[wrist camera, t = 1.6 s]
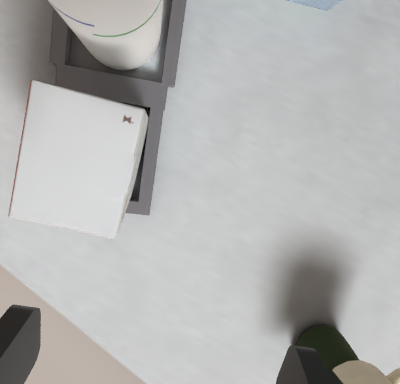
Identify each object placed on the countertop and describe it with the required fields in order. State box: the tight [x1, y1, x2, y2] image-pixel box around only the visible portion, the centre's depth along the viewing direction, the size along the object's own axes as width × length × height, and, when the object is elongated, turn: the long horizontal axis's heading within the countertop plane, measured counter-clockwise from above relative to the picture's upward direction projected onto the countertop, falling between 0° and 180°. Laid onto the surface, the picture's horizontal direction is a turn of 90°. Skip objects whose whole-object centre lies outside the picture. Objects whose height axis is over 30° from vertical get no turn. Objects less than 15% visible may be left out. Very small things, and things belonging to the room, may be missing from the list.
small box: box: [9, 80, 149, 239], centre depth 24 cm, size 8×6×13 cm
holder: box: [50, 0, 186, 215], centre depth 29 cm, size 11×22×2 cm, turn 171°
